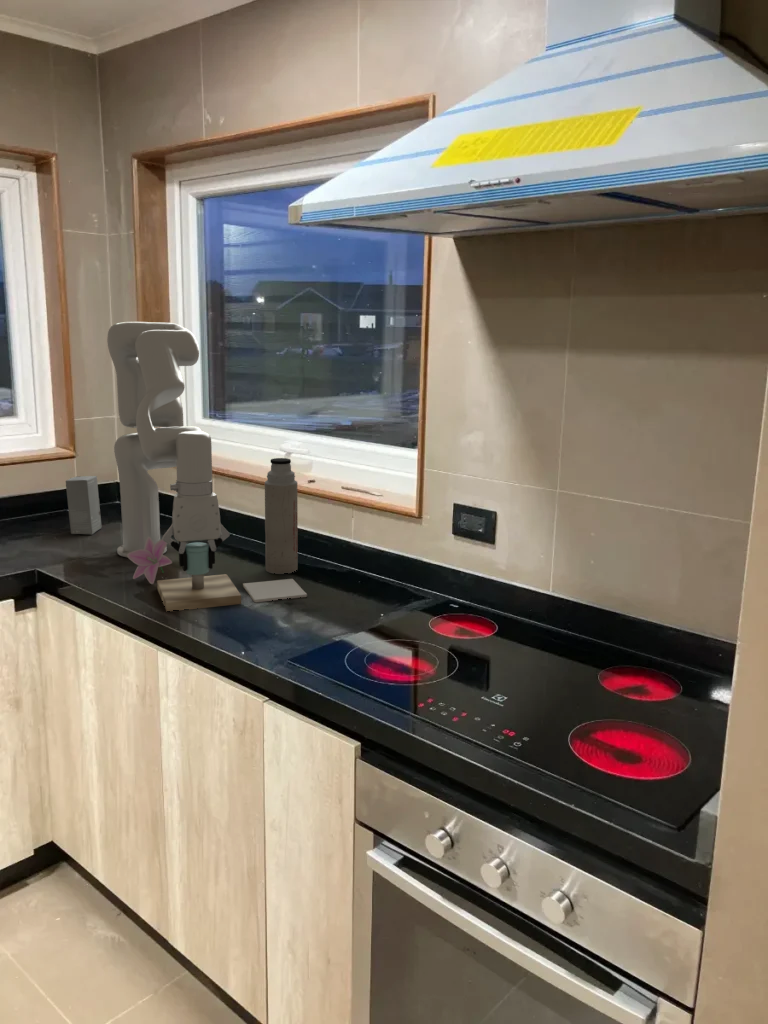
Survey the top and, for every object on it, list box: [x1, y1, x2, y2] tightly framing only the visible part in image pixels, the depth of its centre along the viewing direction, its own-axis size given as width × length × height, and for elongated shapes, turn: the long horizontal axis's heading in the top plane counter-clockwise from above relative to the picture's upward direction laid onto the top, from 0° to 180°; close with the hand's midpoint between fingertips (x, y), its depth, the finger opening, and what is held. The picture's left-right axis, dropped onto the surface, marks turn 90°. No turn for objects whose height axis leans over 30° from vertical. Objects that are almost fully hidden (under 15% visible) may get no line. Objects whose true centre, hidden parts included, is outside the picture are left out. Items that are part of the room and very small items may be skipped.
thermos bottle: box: [264, 457, 299, 575], centre depth 203 cm, size 8×8×28 cm
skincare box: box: [65, 475, 102, 535], centre depth 236 cm, size 8×7×16 cm
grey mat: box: [242, 578, 308, 603], centre depth 189 cm, size 12×12×1 cm
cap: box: [185, 541, 210, 576], centre depth 183 cm, size 5×5×6 cm
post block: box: [156, 573, 242, 612], centre depth 184 cm, size 16×16×9 cm
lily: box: [126, 536, 173, 585], centre depth 197 cm, size 12×12×10 cm
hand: (197, 567), depth 184 cm, fingers closed on cap, 4 cm apart
